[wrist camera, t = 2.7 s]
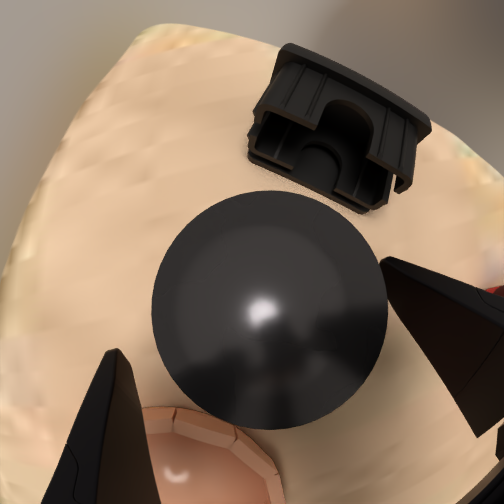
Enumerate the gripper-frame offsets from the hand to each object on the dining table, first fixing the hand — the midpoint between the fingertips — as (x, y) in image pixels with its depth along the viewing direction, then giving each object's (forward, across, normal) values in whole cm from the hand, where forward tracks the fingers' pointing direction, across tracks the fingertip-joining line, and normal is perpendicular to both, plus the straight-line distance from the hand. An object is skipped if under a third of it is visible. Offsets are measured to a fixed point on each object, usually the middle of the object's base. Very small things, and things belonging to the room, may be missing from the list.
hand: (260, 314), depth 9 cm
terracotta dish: (-2, +8, +13) cm, 15 cm away
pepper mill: (+6, 0, +6) cm, 8 cm away
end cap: (+12, -9, 0) cm, 15 cm away
